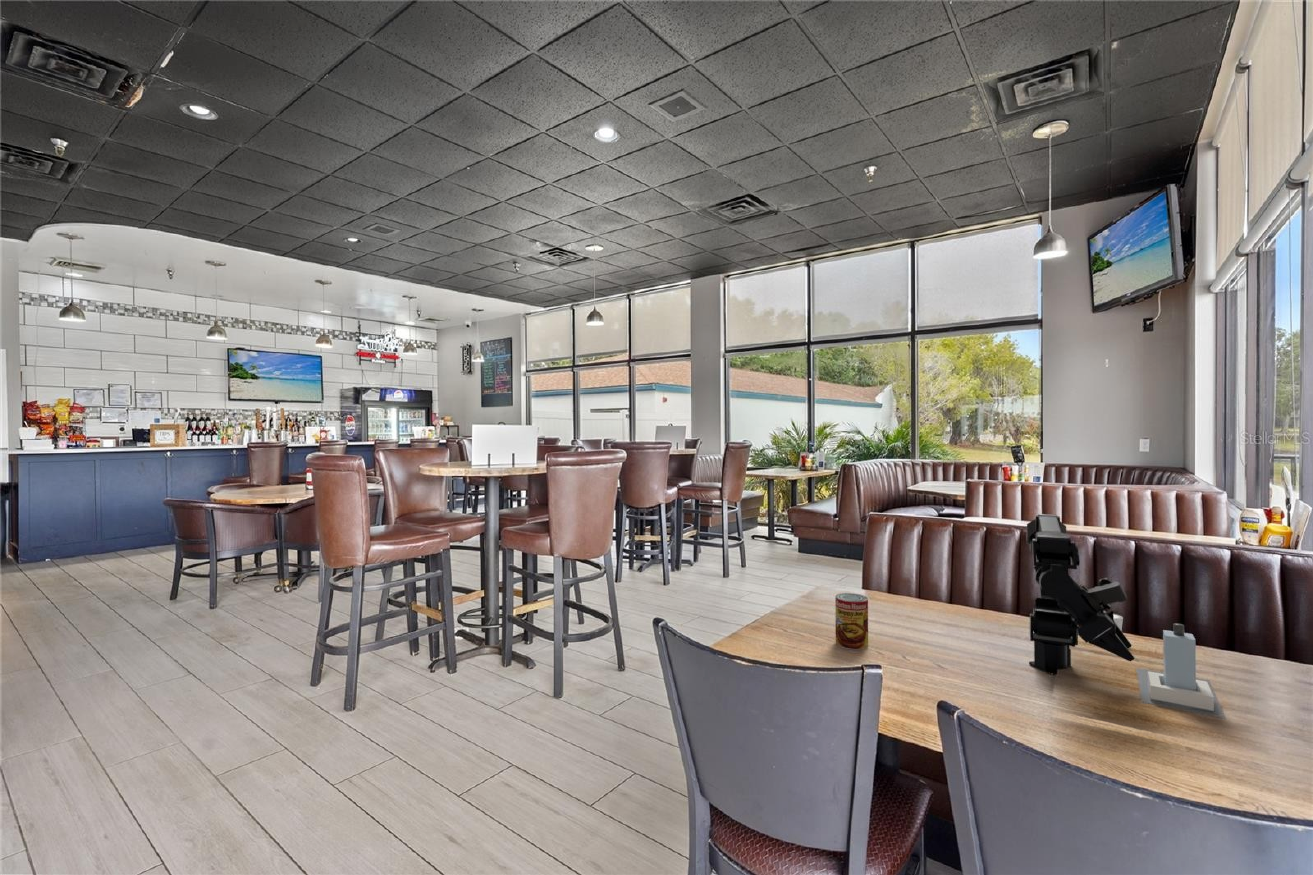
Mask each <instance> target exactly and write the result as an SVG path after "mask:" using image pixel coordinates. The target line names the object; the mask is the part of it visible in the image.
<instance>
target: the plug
mask: <svg viewBox="0 0 1313 875" xmlns="http://www.w3.org/2000/svg"><path fill="white" fill-rule="evenodd" d="M1172 625H1173V631H1172V630H1165V629H1163V630H1162V645H1163V646H1162V655H1163V656H1162V657H1163V658H1162V660H1163V663H1162V668H1163V670H1162V672H1163V685H1164V686H1170V687H1175V688H1181V689H1186V690H1191V691H1196V678H1197V674H1196V672H1197V671H1196V670H1197V669H1196V668H1197V667H1196V665H1197V664H1196V662H1197V661H1196V660H1197V659H1196V653H1197V652H1196V638H1195V636H1194V634H1192V633H1188V632H1185V625H1184V624H1182V623H1177V622H1175V623H1173V624H1172Z"/></svg>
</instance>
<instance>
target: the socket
mask: <svg viewBox="0 0 1313 875" xmlns="http://www.w3.org/2000/svg"><path fill="white" fill-rule="evenodd" d="M1148 688H1149V694H1150V699H1151V701H1153V702H1158V703H1163V704H1168V705H1173V706H1178V707H1183V708H1188V709H1193V710H1198V711H1203V712H1208V713H1213V714H1214V697H1213V694H1212V692H1211V690H1210V688H1209V685H1208V683H1207V682H1206V681H1200V680H1196V691H1191V690H1186V689H1181V688H1175V687H1170V686H1164V685H1163V674H1160V673H1155V672H1149V671H1148Z"/></svg>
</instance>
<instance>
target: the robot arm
mask: <svg viewBox="0 0 1313 875" xmlns="http://www.w3.org/2000/svg"><path fill="white" fill-rule="evenodd" d="M1034 517H1035V518H1034V519H1033V520H1031V521H1030V522H1028V523H1027V524H1026V532H1025V533H1026V536H1025V537H1026V545H1029V552H1030V554H1031V555H1032V562H1033V569H1034V573H1035V575H1034V576H1035V578H1034V579H1035V581H1036V584H1037V585H1038V588H1039V596H1038V597H1035V600H1034V603H1033V613H1030V614H1029V638H1030V642H1033V650H1034V651H1033V661H1029V662H1028V664H1029V665H1030V666H1033V667H1035V668H1037V669H1039V670H1041V671H1043V672H1045V673H1047V674H1049V675H1057V673H1058V670H1065V669H1067V668H1070V667H1071V666H1072V657H1071V656H1072V649H1071V647H1073V648H1075V647H1076V646H1078V645H1079V637H1080V639H1082V641H1083V642H1085V643H1088V644H1089V645H1093V646H1096V647H1097V648H1100V649H1102V650H1104V651H1107V652H1109V653H1111V654H1114V655H1116V656H1117V657H1120V658H1121V659H1123V660H1126V661H1128V662H1132V661H1133V660H1135V656H1134V655H1133V653H1131V651H1130V650H1129V649H1130V648H1132V644H1131V642H1130V641H1129V639H1128V638H1127V636H1126V635H1125V634H1124V632H1123V630H1122V631H1121V630H1120V628H1119V627H1118V626H1117V624H1116V623H1115V621H1114V616H1113V614H1114V609H1113V608H1112V605H1111V604H1114V603H1122V602H1126V601H1127V600H1128V595H1127V594H1126V592H1125V590H1124V589H1123V587H1122V585H1121V583H1120V582H1119V581H1116V580H1115V581H1112V580H1111V579H1109V578H1108V577H1104V578H1101V579H1099V580H1098V586H1094V587H1092V588H1087V587H1086V586H1085V585H1084V584H1083V585H1082V584H1079V583H1077V581H1075V579H1073V577H1071V576H1070V574H1069V569H1070V570H1078V567H1079V566H1080V554H1079V553H1080V552H1079V547H1078V546H1077V545H1076V542H1075V541H1072V538H1071V536H1070V535H1069V534H1068V532H1067V525H1066V524H1064V523H1063V522H1061V516H1060V515H1057V514H1047V513H1038V514H1035V516H1034ZM1106 610H1107V611H1106Z"/></svg>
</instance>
